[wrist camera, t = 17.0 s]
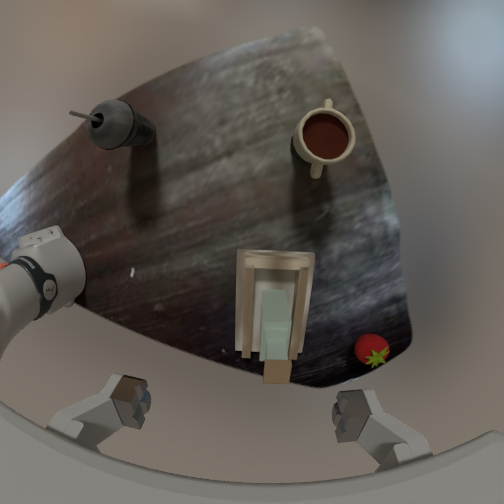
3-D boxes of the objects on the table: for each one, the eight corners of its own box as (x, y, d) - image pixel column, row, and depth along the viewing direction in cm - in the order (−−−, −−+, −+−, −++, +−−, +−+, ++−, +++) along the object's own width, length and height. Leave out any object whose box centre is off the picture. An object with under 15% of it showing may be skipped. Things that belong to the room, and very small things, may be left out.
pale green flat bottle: (262, 288, 47) (262, 351, 30) (285, 289, 47) (297, 352, 30) (260, 323, 49) (258, 393, 32) (281, 324, 49) (289, 393, 32)
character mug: (324, 181, 43) (348, 185, 31) (282, 173, 43) (290, 172, 31) (334, 120, 40) (361, 102, 28) (293, 110, 40) (305, 87, 28)
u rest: (235, 346, 52) (233, 361, 48) (237, 248, 47) (235, 257, 42) (300, 348, 52) (303, 363, 47) (313, 252, 47) (319, 261, 42)
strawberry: (356, 318, 50) (373, 347, 40) (384, 328, 51) (403, 355, 41) (342, 341, 52) (355, 372, 42) (370, 350, 52) (385, 379, 43)
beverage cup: (150, 160, 43) (82, 157, 24) (120, 143, 42) (46, 134, 23) (171, 123, 41) (113, 96, 22) (139, 107, 40) (73, 78, 21)
